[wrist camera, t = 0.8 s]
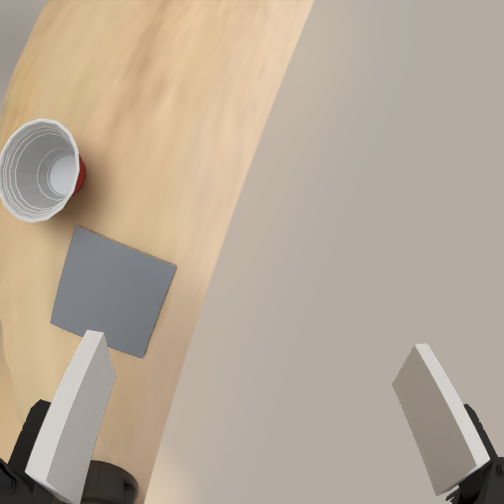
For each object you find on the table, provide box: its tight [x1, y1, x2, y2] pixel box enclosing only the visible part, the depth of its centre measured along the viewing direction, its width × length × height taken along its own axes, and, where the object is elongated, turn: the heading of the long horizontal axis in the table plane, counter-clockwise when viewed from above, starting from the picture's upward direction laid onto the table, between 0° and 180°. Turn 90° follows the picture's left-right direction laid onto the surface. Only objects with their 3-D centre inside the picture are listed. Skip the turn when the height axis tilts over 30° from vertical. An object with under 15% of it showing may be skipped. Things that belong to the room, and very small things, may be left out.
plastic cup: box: [0, 118, 86, 223], centre depth 30 cm, size 11×11×12 cm
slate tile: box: [50, 225, 176, 359], centre depth 39 cm, size 15×15×1 cm
